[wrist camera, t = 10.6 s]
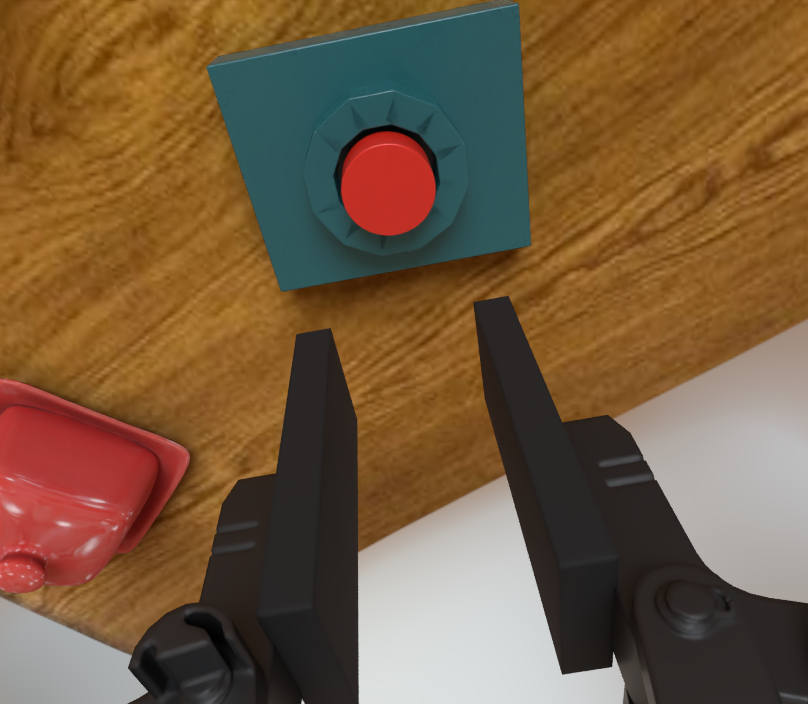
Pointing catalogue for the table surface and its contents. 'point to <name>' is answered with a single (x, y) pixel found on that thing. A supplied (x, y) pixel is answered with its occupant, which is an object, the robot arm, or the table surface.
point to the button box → (375, 112)
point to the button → (387, 183)
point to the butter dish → (74, 488)
